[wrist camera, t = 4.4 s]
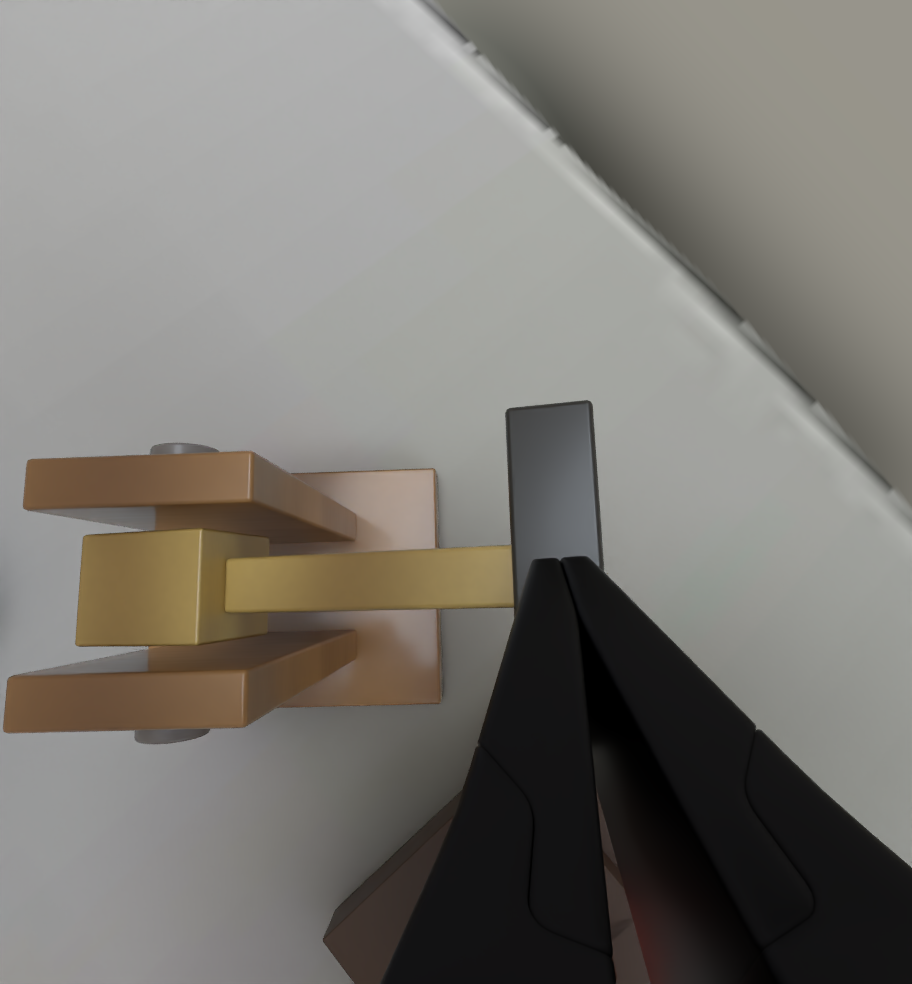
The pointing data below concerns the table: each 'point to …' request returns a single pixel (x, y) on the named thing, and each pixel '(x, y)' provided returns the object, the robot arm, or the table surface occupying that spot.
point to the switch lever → (345, 556)
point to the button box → (397, 886)
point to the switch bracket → (291, 635)
